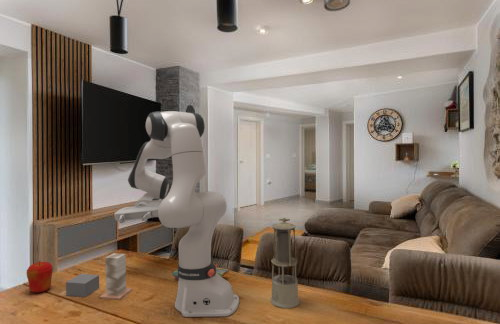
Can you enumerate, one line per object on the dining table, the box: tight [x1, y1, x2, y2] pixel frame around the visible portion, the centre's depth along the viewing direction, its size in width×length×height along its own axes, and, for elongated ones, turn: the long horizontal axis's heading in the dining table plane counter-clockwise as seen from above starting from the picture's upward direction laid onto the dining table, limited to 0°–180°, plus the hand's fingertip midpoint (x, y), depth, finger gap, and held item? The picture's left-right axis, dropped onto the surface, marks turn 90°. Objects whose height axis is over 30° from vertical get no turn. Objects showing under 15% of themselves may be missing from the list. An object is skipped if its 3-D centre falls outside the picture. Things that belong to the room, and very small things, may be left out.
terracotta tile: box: [99, 287, 133, 301], centre depth 119 cm, size 8×8×1 cm
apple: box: [26, 260, 54, 294], centre depth 122 cm, size 9×8×12 cm
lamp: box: [270, 217, 301, 309], centre depth 113 cm, size 10×13×30 cm
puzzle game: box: [172, 266, 229, 281], centre depth 132 cm, size 12×5×20 cm
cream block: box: [104, 252, 127, 296], centre depth 119 cm, size 5×5×14 cm
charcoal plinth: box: [65, 273, 100, 298], centre depth 121 cm, size 8×8×5 cm
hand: (131, 220), depth 128 cm, fingers open, 8 cm apart
